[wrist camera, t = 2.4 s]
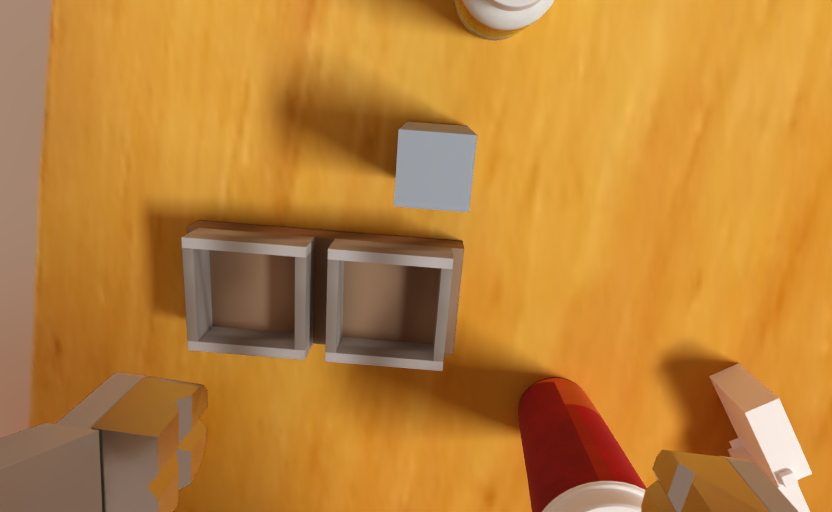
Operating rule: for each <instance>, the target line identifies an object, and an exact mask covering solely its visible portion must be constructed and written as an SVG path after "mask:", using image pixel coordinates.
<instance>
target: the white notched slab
mask: <svg viewBox="0 0 832 512" xmlns="http://www.w3.org/2000/svg"><path fill="white" fill-rule="evenodd" d="M709 377H710V379H711V381H712V383H713V385H714V388H715V390H716V392H717V394H718V396H719V398H720V400H721V402H722V404H723V407H724V409H725V411H726V413H727V415H728V417H729V419H730V421H731V423H732V426H733V428H734V430H735V432H736V434H737V436H738V438H735V439H733V440H731V441H729V443H730V445H731V447H732V448H730V449H727V450H728V452H729V455H730V457H735V458H744V459H749V460H750V461H752V462H754V463H756V464H757V465H758V466H759V467H760V469H761V470H762V471H763V472H764V473H765V474H766V475H767V476H768V478H769V479H770V480H771V481H772V482H773V483H774V484H775V485H776V487H777V488H778V489H779V490H780V491H781V492H782V493H783V495H784V496H785V497H786V498H787V499H788V500H789V501H790V502H791V504H792V505H793V506H794V507H795V508H796V509H797V510H798V512H810V510H809V508H808V506H807V504H806V501H805V499H804V497H803V495H802V493H801V490H800V488H799V486H798V482H797V480H798V479H801V478H803V477H806V476H808V475H811V474H812V472H811V470H810V468H809V465H808V463H807V461H806V458H805V456H804V454H803V452H802V449H801V447H800V445H799V442H798V440H797V438H796V436H795V433H794V431H793V429H792V426H791V424H790V422H789V420H788V417H787V415H786V413H785V410H784V408H783V406H782V404H781V401H780V399H779V398H778V397H777V396H776V395H775V394H774V393H773V392H772V391H770V390H769V389H768V388H767V387H766V386H765V385H764V384H762V383H761V382H760V381H759V380H758V379H757V378H756V377H755V376H753V375H752V374H751V373H750V372H749V371H748V370H747V369H745V368H744V367H743V366H742V365H741V364H740V363H738V364H735V365H733V366H731V367H729V368H727V369H724V370H722V371H720V372H718V373H715V374H713V375H711V376H709Z"/></svg>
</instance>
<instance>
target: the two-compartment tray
mask: <svg viewBox="0 0 832 512" xmlns="http://www.w3.org/2000/svg"><path fill="white" fill-rule="evenodd" d="M181 241H182V257H183V274H184V290H185V307H186V324H187V340H188V350H191V351H203V352H215V353H227V354H240V355H252V356H264V357H276V358H288V359H301V360H305V358H306V356H307V354H308V352H309V350H310V348H311V346H312V344H313V343H315V344H326V350H325V362H337V363H349V364H362V365H374V366H386V367H398V368H410V369H423V370H435V371H443V361H444V354H450V355H453V351H454V341H455V331H456V322H457V312H458V302H459V293H460V283H461V273H462V264H463V254H464V246H463V241H455V240H442V239H429V238H417V237H404V236H391V235H379V234H366V233H354V232H341V231H328V230H316V229H303V228H290V227H278V226H265V225H252V224H240V223H227V222H214V221H202V220H199V221H197V222H195V223H193V224H191V225H189V226H187V234H186V235H184V236H183V237H181Z"/></svg>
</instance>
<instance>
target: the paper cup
mask: <svg viewBox="0 0 832 512" xmlns="http://www.w3.org/2000/svg"><path fill="white" fill-rule="evenodd" d="M518 416H519V425H520V432H521V439H522V446H523V452H524V458H525V465H526V471H527V477H528V484H529V492H530V499H531V507H532V512H641V504H642V501H643V497H644V494H645V490H646V489H647V488H646V487H645V485H644V484H643V482H642V480H641V479H640V477H639V476H638V474H637V472H636V471H635V469H634V468H633V466H632V464H631V463H630V461H629V460H628V458H627V457H626V455H625V453H624V452H623V450H622V449H621V447H620V445H619V444H618V442H617V441H616V439H615V438H614V436H613V434H612V433H611V431H610V430H609V428H608V427H607V425H606V423H605V422H604V420H603V419H602V417H601V416H600V414H599V413H598V411H597V409H596V408H595V406H594V405H593V403H592V402H591V400H590V399H589V397H588V396H587V395H586V393H585V392H584V391H583V390H582V389H581V388H580V387H579V386H578V385H577V384H575V383H574V382H572V381H570V380H567V379H563V378H548V379H544V380H541V381H538V382H536V383H535V384H533V385H531V386H530V387H529V388H528V389H527V390H526V391H525V392H524V394H523V395H522V397H521V399H520V402H519V407H518Z"/></svg>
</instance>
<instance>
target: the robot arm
mask: <svg viewBox="0 0 832 512" xmlns="http://www.w3.org/2000/svg"><path fill="white" fill-rule="evenodd" d="M207 407H208V400H207V389H206V387H205V386H204V385H201V384H195V383H189V382H183V381H176V380H170V379H164V378H158V377H151V376H149V377H148V376H146V375H139V374H131V373H123V372H121V373H114V374H113V375H112V376H111V377H109V378H108V379H107V380H106V381H105V382H104V383H102V384H101V385H100V386H99V387H98V388H97V389H96V390H94V391H93V392H92V393H91V394H90V395H89V396H87V397H86V398H85V399H84V400H83V401H82V402H80V403H79V404H78V405H77V406H76V407H75V408H73V409H72V410H71V411H70V412H69V413H68V414H66V415H65V416H64V417H63V418H62V419H61V420H60V421H58V422H57V423H56V424H51V423H44V424H41V425H38V426H35V427H32V428H29V429H26V430H24V431H20V432H18V433H15V434H12V435H9V436H6V437H3V438H0V512H173V511H174V509H175V508H176V506H177V505H178V498H179V490H180V489H182V488H184V487H186V486H187V485H189V484H191V482H192V481H193V479H194V477H195V476H196V474H197V472H198V470H199V467H200V465H201V462H202V459H203V456H204V453H205V447H206V441H207V428H206V426H205V425H204V424H203V422H202V421H201V419H200V417H201V415H202V414H203V413H204V411H205V410H206V408H207ZM653 471H654V473H655V475H656V477H657V481H656V482H654V483H653V484H652V485H651V486H649V487H648V488H647V489H646V490H645V494H644V497H643V501H642V504H641V512H798V510H797V509H796V508H795V507H794V506H793V505H792V504H791V502H790V501H789V500H788V499H787V498H786V497H785V496H784V495H783V493H782V492H781V491H780V490H779V489H778V488H777V487H776V485H775V484H774V483H773V482H772V481H771V480H770V479H769V478H768V476H767V475H766V474H765V473H764V472H763V471H762V470H761V469H760V467H759V466H758V465H757V464H756V463H754V462H752V461H750V460H749V459H744V458H735V457H725V456H712V455H704V454H695V453H687V452H678V451H670V450H662V451H661V452H660V453H659V454H658V456H657V457H656V460H655V463H654V466H653Z"/></svg>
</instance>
